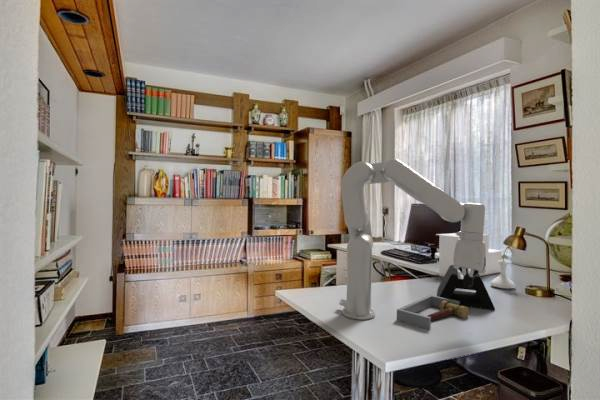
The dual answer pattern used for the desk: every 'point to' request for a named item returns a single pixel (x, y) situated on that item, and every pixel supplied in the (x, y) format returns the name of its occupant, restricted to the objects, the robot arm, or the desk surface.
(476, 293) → the device stand
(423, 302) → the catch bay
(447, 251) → the white stepped block
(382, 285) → the desk surface
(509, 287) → the flower in vase
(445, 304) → the gavel
